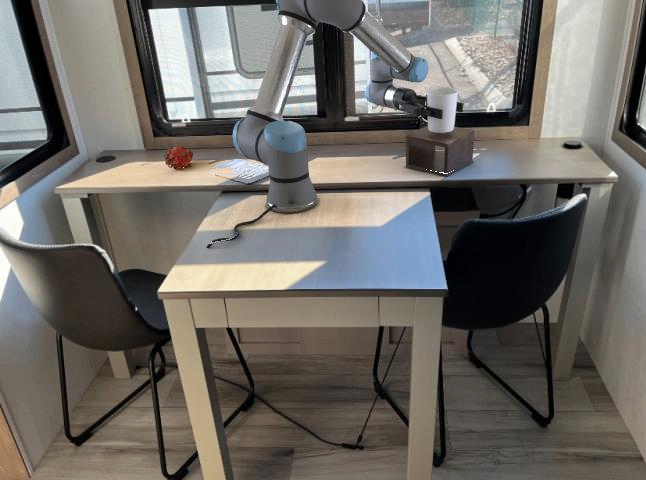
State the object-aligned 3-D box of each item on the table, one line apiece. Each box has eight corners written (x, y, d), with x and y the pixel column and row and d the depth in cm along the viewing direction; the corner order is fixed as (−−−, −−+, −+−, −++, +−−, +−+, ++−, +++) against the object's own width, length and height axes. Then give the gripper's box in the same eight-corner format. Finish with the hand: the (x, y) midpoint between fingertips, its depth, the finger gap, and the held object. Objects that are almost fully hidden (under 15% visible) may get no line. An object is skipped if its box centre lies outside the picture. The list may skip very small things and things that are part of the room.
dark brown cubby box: (446, 177, 189) (448, 144, 183) (405, 167, 198) (405, 135, 192) (472, 162, 199) (474, 130, 193) (432, 153, 208) (433, 122, 202)
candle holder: (455, 123, 195) (457, 86, 189) (457, 133, 187) (459, 94, 181) (425, 124, 196) (425, 87, 190) (426, 134, 188) (427, 95, 182)
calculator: (249, 185, 193) (248, 180, 192) (208, 174, 204) (207, 169, 203) (277, 172, 201) (276, 167, 200) (236, 162, 212) (235, 157, 211)
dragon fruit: (165, 177, 208) (192, 171, 217) (175, 166, 202) (204, 160, 211) (154, 154, 208) (183, 149, 216) (165, 143, 202) (193, 139, 210)
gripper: (423, 103, 208) (474, 115, 192) (378, 117, 197) (427, 131, 182) (424, 81, 203) (475, 91, 188) (377, 94, 193) (428, 106, 178)
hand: (452, 111), depth 185 cm, fingers closed on candle holder, 9 cm apart
